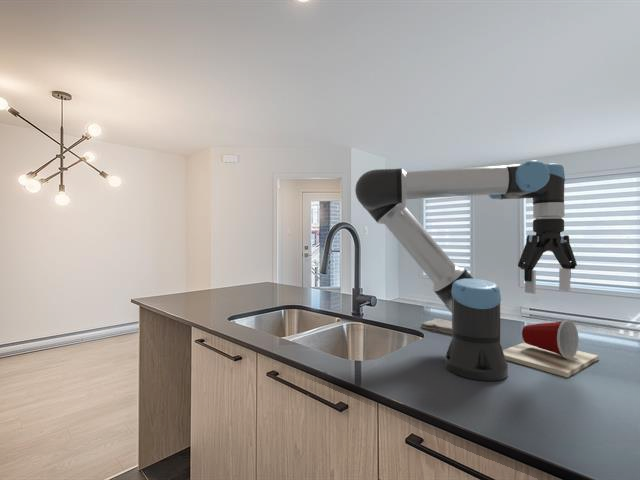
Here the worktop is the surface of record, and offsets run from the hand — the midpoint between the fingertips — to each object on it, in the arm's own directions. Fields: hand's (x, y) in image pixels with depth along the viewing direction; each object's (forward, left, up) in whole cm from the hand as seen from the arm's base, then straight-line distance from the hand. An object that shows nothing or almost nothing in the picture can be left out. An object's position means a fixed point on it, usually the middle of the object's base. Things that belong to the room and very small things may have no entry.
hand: (547, 291), depth 97 cm
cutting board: (0, 0, -19) cm, 19 cm away
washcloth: (+4, +35, -20) cm, 41 cm away
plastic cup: (+3, +7, -15) cm, 16 cm away
